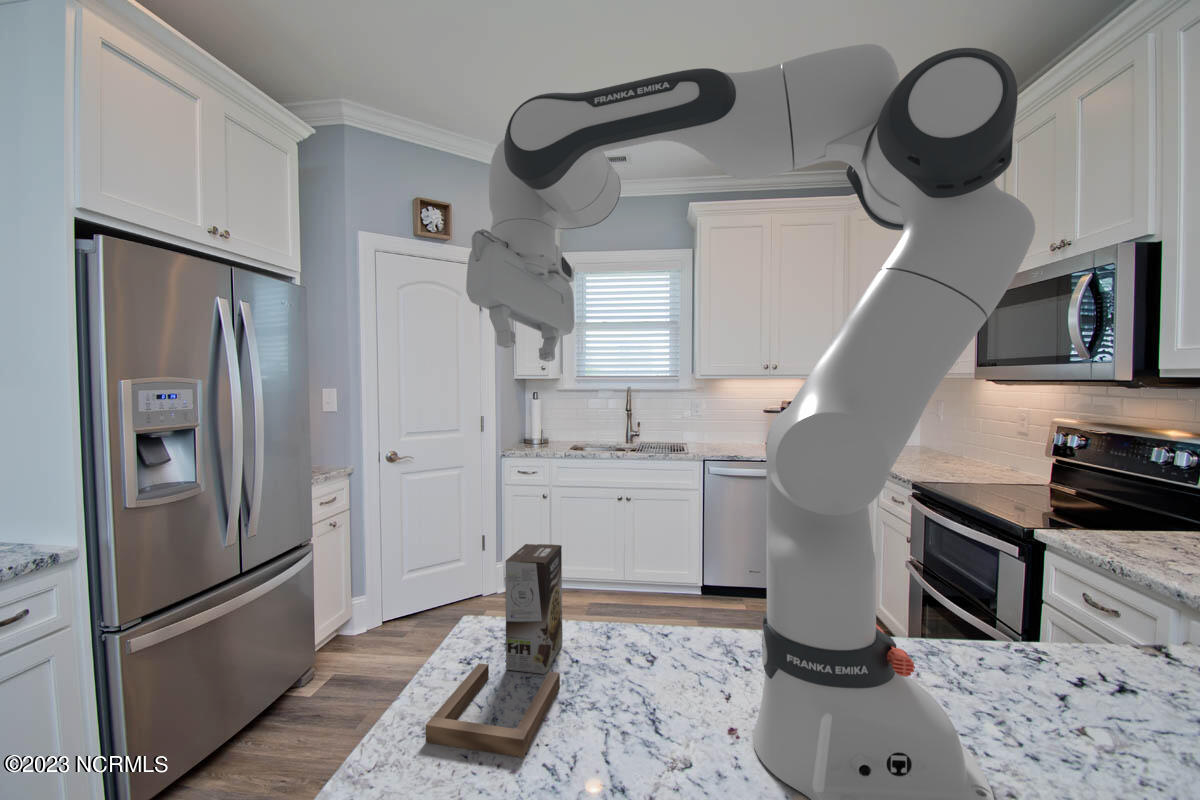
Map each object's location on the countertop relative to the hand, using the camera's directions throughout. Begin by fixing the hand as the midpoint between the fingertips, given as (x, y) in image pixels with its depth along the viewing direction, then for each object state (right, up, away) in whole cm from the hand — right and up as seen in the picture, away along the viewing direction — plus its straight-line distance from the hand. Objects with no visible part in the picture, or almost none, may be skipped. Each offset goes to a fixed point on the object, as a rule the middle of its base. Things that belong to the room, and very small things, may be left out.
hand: (528, 353), depth 66 cm
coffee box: (0, -46, +11) cm, 47 cm away
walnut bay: (-3, -46, -2) cm, 46 cm away
